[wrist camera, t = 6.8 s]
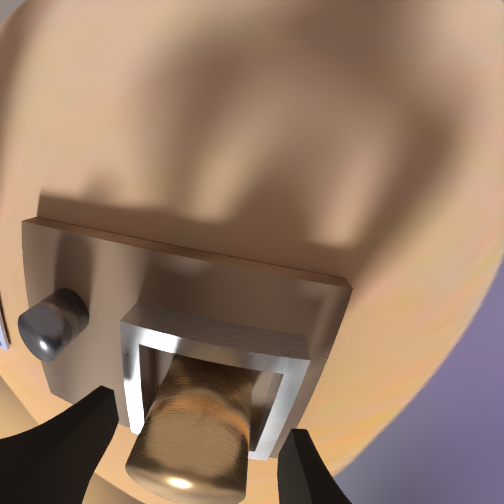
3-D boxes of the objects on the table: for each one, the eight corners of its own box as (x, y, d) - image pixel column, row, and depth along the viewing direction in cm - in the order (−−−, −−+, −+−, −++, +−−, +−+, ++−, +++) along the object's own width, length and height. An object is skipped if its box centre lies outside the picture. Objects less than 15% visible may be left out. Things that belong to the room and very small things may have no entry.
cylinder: (171, 400, 13) (136, 492, 7) (168, 339, 12) (113, 441, 6) (247, 412, 13) (239, 513, 7) (258, 353, 12) (253, 471, 6)
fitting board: (59, 383, 15) (30, 418, 11) (35, 217, 12) (-20, 233, 8) (279, 444, 15) (281, 495, 11) (344, 278, 12) (379, 325, 8)
